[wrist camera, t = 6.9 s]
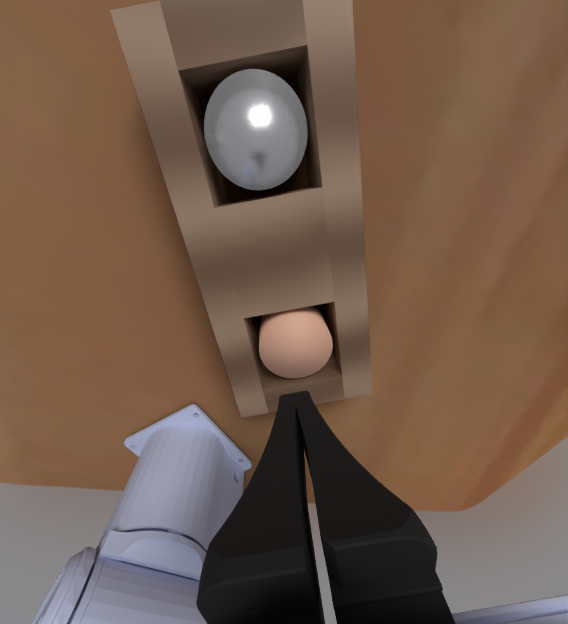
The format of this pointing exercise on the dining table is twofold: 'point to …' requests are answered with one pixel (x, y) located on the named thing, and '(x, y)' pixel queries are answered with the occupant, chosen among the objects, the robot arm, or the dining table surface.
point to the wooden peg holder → (270, 208)
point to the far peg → (294, 342)
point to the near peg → (255, 129)
